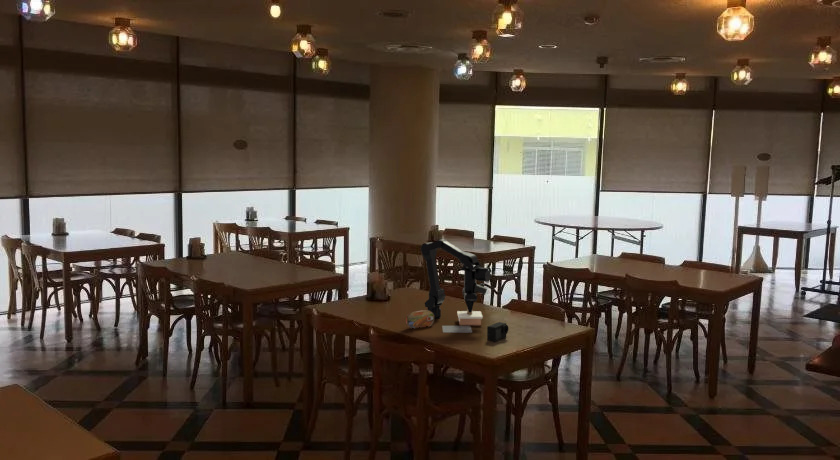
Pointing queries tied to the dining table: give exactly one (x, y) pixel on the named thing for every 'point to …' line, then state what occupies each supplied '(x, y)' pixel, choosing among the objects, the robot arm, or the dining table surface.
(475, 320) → the dish
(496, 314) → the dining table surface
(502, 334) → the digital camera
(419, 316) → the tin
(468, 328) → the mat
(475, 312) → the lid
